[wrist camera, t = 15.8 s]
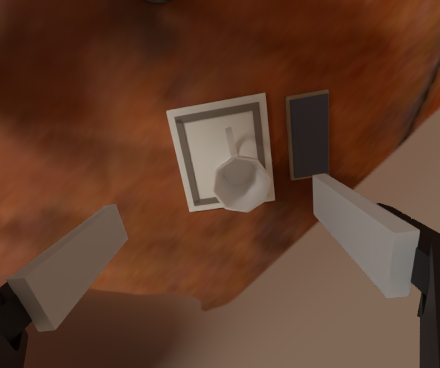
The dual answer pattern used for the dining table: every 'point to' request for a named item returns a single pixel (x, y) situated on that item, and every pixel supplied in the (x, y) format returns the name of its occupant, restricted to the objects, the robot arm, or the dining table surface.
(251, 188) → the cup
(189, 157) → the board
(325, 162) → the ink pad
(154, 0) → the lantern
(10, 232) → the dining table surface
